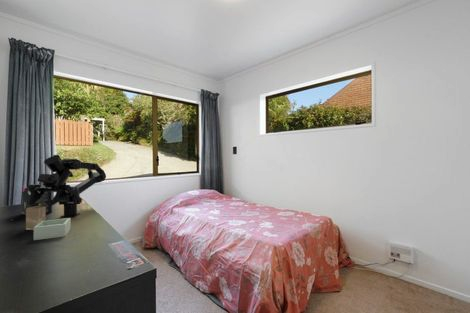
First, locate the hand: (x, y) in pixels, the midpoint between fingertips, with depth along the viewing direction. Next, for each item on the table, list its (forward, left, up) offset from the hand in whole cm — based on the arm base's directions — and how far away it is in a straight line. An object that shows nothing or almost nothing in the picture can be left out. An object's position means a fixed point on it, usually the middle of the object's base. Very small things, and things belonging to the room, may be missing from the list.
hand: (40, 205), depth 99 cm
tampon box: (-26, -16, -10) cm, 32 cm away
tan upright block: (+2, 0, -10) cm, 10 cm away
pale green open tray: (+12, +12, -9) cm, 19 cm away
